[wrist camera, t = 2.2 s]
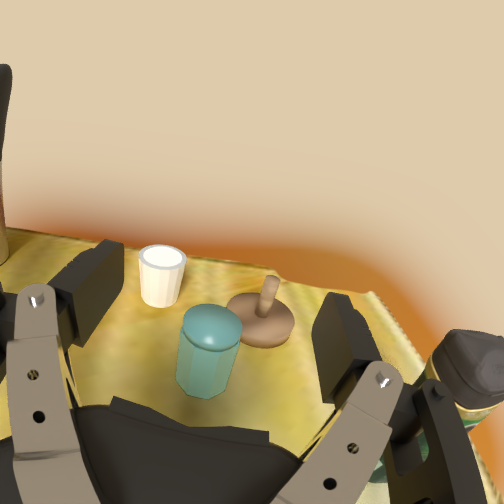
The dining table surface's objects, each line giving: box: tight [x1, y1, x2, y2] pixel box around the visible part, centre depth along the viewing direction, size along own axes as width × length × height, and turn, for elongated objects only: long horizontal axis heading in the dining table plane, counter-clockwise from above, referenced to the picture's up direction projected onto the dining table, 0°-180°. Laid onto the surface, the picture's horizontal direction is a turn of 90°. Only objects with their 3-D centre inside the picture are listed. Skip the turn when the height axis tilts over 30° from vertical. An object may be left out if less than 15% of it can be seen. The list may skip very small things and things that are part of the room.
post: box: [227, 275, 295, 348], centre depth 39 cm, size 10×10×8 cm
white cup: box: [139, 245, 187, 308], centre depth 39 cm, size 7×7×7 cm
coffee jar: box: [368, 329, 504, 483], centre depth 19 cm, size 10×8×19 cm
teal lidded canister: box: [176, 304, 242, 399], centre depth 28 cm, size 6×6×9 cm
